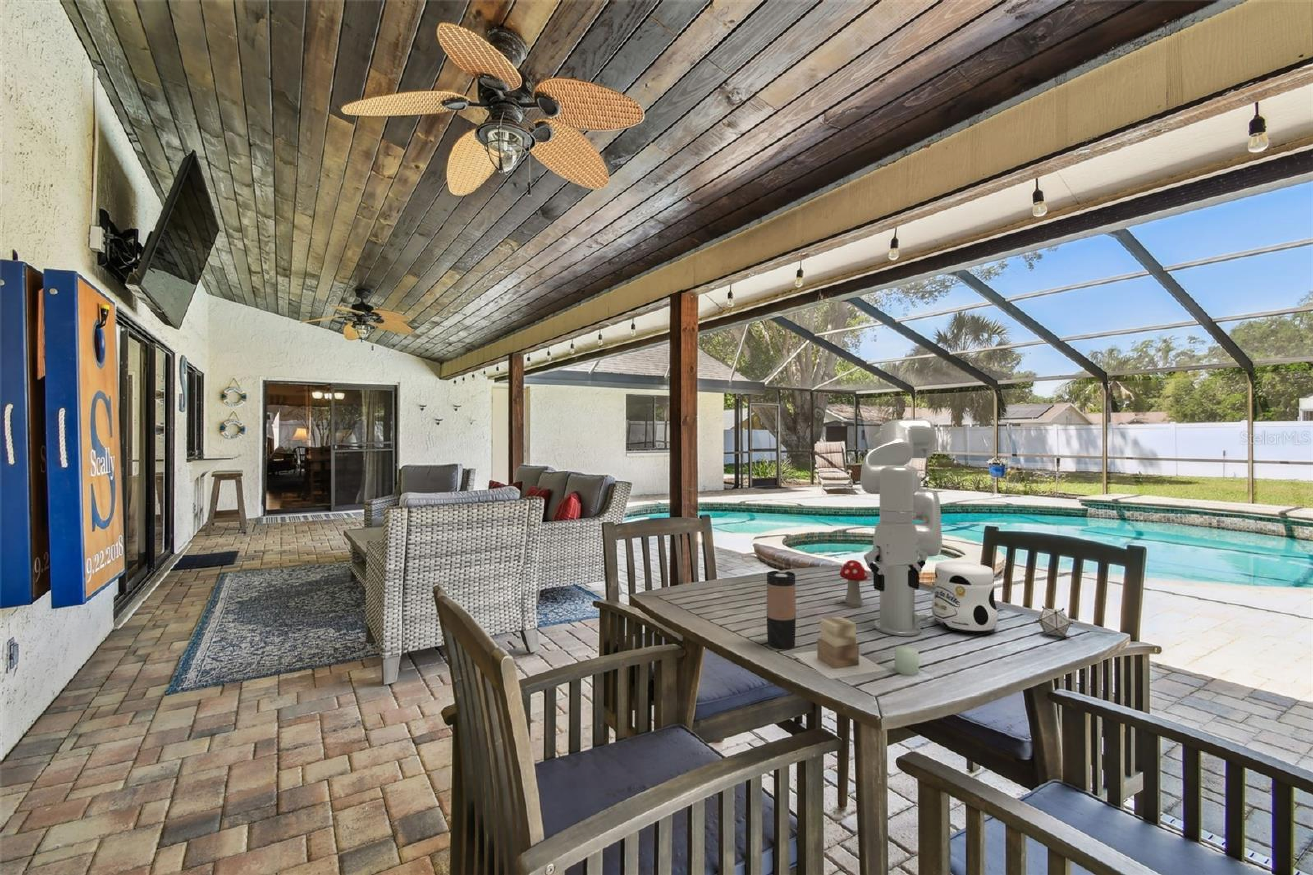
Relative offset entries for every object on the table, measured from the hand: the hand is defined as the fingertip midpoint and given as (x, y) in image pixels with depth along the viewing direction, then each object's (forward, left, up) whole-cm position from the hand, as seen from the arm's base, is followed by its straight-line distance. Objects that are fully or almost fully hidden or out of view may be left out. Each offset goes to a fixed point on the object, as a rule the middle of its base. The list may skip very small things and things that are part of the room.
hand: (896, 589), depth 139 cm
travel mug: (+18, -23, -20) cm, 35 cm away
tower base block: (+11, -8, -19) cm, 23 cm away
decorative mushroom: (-26, -50, -20) cm, 59 cm away
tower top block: (+11, -8, -14) cm, 19 cm away
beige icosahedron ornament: (-60, -6, -20) cm, 63 cm away
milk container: (-42, -20, -20) cm, 50 cm away
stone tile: (+11, -8, -20) cm, 24 cm away
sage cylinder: (-1, +2, -20) cm, 20 cm away
